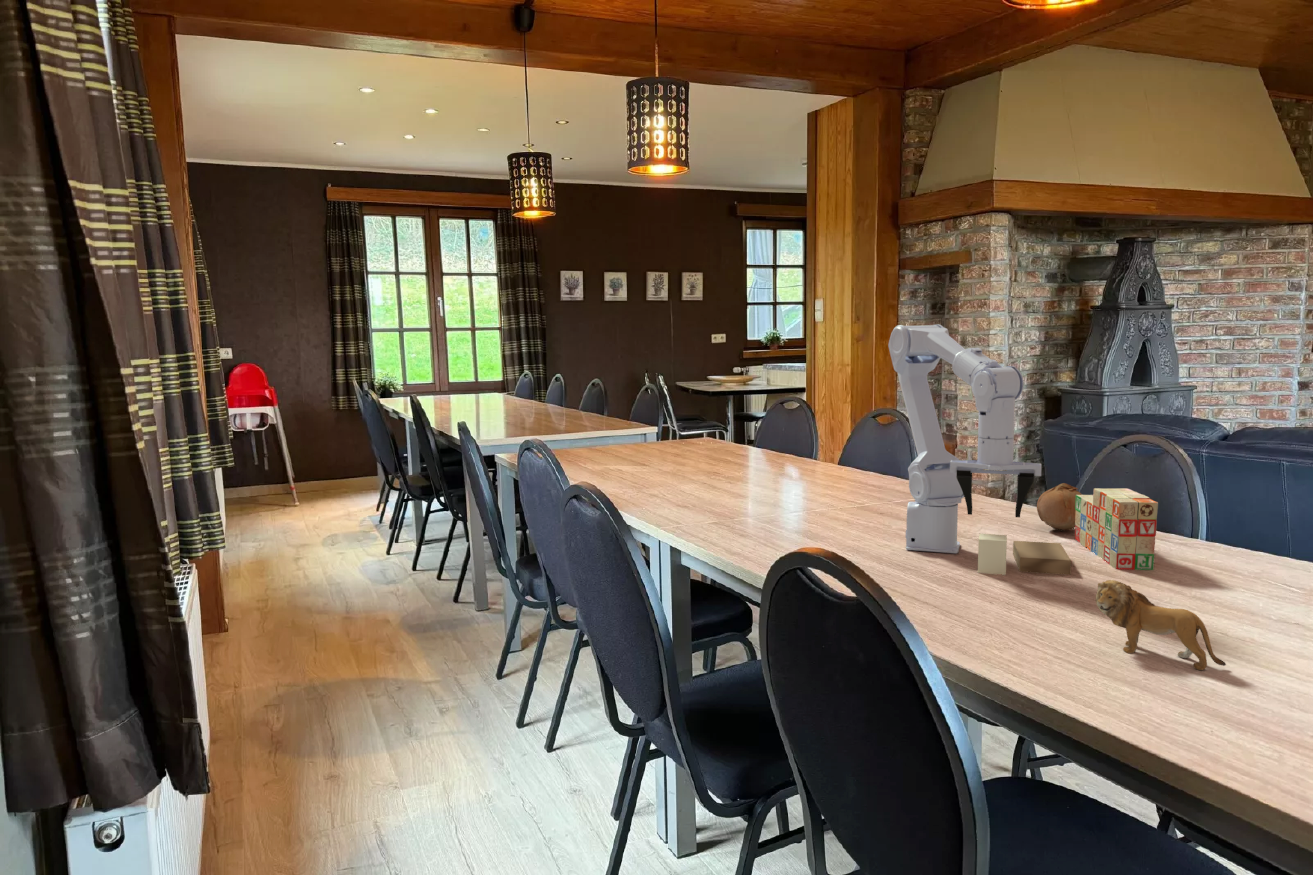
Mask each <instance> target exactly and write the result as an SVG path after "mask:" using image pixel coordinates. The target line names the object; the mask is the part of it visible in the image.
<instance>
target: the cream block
mask: <svg viewBox="0 0 1313 875" xmlns="http://www.w3.org/2000/svg"><path fill="white" fill-rule="evenodd" d="M1007 538H1008V536H1007V535H1006V534H995V533H994V534H991V533H979V534H978V543H977V544H978V545H977V546H978V548H977V549H978V550H977V551H978V552H977V555H978V557H977V573H978V574H985V575H997V574H1002V575H1001V576H1006V575H1007V551H1008V546H1007V545H1008V543H1007V541H1008V540H1007Z"/></svg>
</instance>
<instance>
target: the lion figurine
mask: <svg viewBox="0 0 1313 875" xmlns="http://www.w3.org/2000/svg"><path fill="white" fill-rule="evenodd" d="M1095 597H1096V598H1095V603H1096V607H1097V608H1098V609H1099V611H1100V612H1101V613H1102V614H1103V615H1104V616H1106V617H1108V618H1109V620H1111V622H1112V623H1113V625H1115V626H1116V627H1119V628H1123V629H1125V630H1126V637H1127V640H1126V641H1125V643H1124V644H1125V646H1124V647H1123V648H1122V650H1123V652H1124V653H1126V654H1133V653H1135V652H1136V651H1137V649H1138V642H1139V636H1140V633H1141V631H1144V632H1147V633H1150V634H1154V635H1159V636H1160V635H1161V636H1165V635H1170V634H1174V633H1175V634H1176V636H1177V638H1178V639H1179V640H1180V642H1181V644H1182V645H1183V646H1184V647H1185V648H1186V649H1185V651H1181V650H1180V651H1178V653H1177V657H1180V658H1182V659H1188V658H1190V657H1191V655H1192V654H1194V656H1196V658H1197V659H1198V662H1194V663H1193V664H1192V666H1193V668H1194V669H1195V670H1197V671H1204V670H1206V669H1207V666H1208V662H1207V655H1206V651H1204V649H1203V648H1202V647H1201V646H1200V644H1199V642H1198V639H1197V637H1198V633H1199V631H1200V633H1201V636H1202V639H1203V642H1204V644H1205V648H1206V650H1207V654H1208V655H1209V656H1210V658H1211V659H1212V661H1213V662H1214V663H1215V664H1216V665H1218V666H1223V667H1224V666H1227V664H1226V662H1225V661H1224V660H1222V659H1221V658H1219V657H1217V656H1216V655H1215V653H1214V651H1213V648H1212V644H1211V640H1210V637H1209V633H1208V630H1207V627H1206V625H1205V624H1204V622H1203V620H1202V619H1201V618H1200V617H1199V616H1198V615H1197V614H1195V613H1194V612H1192V611H1190V610H1188V609H1185V608H1168V607H1163V606H1158V605H1155V604H1154V603H1153V602H1152V601H1150V600H1149V599H1148V598H1147V596H1146V595H1144V594H1143V593H1142V592H1138V591H1137V590H1135V589H1132V587H1131V586H1130V585H1127V584H1126V583H1124V582H1121V581H1119V580H1114V579H1107V580H1106V581H1102V582H1098V583H1097V591H1096V596H1095Z"/></svg>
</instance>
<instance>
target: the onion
mask: <svg viewBox="0 0 1313 875" xmlns="http://www.w3.org/2000/svg"><path fill="white" fill-rule="evenodd" d="M1076 495H1083V494H1082V493H1081V492H1080V491H1079V490H1078V487H1076V486H1072V485H1071V484H1068V483H1065V482H1063V483H1060V484H1058V485H1056V486H1054V487H1052V488H1049V489H1047V490H1046V491H1044V492H1043V493H1042V494H1040V496H1039V497H1038V500H1037V502H1036V511H1037V515H1038V517H1039V519H1040V521H1042V522H1044V523H1045V525H1047V526H1048V527H1050V528H1052V529H1053V530H1057V531H1061V530H1062V531H1070V530H1073V529H1074V530H1075V514H1076V510H1075V498H1076ZM1062 531H1061V532H1062Z"/></svg>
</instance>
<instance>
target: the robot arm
mask: <svg viewBox="0 0 1313 875" xmlns="http://www.w3.org/2000/svg"><path fill="white" fill-rule="evenodd" d="M888 350H889V355H890V358H891V363H892V367H893V370H894V371H895V372H896V374H897V378H898V381H899V386H900V389H901V393H902V397H903V401H904V404H905V405H904V406H905V410H906V414H907V417H908V421H909V426H910V430H911V434H912V438H913V440H914V441H913V442H914V447H915V449H916V455H917V456H916V458H915V459H914V460H913V461H912V462H911V463H910V465H909V466H908V468H907V471H908V489H909V492H910V496H912V499H914V501H908V503H907V507H906V529H905V540H906V541H905V543H906V544H905V546H906V547H905V550H908V551H918V552H919V551H920V552H932V553H933V552H934V553H944V554H959V550H960V545H961V543H960V541H958V516H959V514H958V513H959V512H958V510H959V504H962V500H963V499H965V504H966V510H967V515H973V497H972V496H973V495H972V487H973V474H991V475H995V474H996V475H1015V476H1017V482H1016V483H1017V488H1016V490H1017V491H1016V492H1017V493H1016V503H1015V511H1014V512H1015V515H1014V516H1015V518H1021V513H1022V512H1021V511H1022V507H1023V505H1024V502H1025V499H1026V497H1027V494H1028V493H1029V491H1030V488H1031V487H1032V486H1033V484H1034V481H1035V477H1042V463H1039V462H1038V463H1036V462H1024V461H1023V462H1022V461H1014V445H1015V444H1014V442H1015V441H1014V439H1015V438H1014V437H1015V412H1016V408H1015V407H1016V400H1017V399H1018V398H1019V397H1021V395H1022V393H1023V389H1024V378H1023V375H1022V373H1021V371H1020V370H1019V369H1017V366H1015V365H1008V366H1002V365H1001V364H999V363H998V362H999V361H997V360H996V359H991V358H990V357H989V356H987V355H985V354H984V353H983V349H982V348H980V347H969V348H964V347H963V345H961V344H960V343H958V342H957V341H956V340H955V339H954V338H953V337H952V336H950V333H949V329H948V328H946V327H944V326H943V325H941V324H939V323H938V324H932V325H931V324H929V325H928V324H926V325H924V324H923V325H903V324H898V325H896V326H895V327H894V328H893V330H892V331H891V334H890V337H889V340H888ZM941 359H942V360H944V361H945V362H947V363H948V364H950V365H952V368H951V369H952V372H953V373H954V375H955V376H956V377H958V378H959V379H960V380H962V381H963V382H965V383H966V384H967V385H968V386H970V387H971V391H972V395H973V397H974V399H975V400H974V402H975V408H976V411H977V412H978V425H977V426H978V427H977V432H978V433H977V436H978V437H977V457H976V458H977V459H972V460H962V459H961V460H960V459H959V458H958V457H957V456H955V455H954V454H952V453H950V452H949V451H947V449H946V447H945V442H944V439H943V434H942V431H941V427H940V422H939V419H938V415H937V412H936V409H935V403H934V400H933V396H932V392H931V388H930V384H929V381H928V378H927V376H928V375H929V373H930V372H931V371H934V370H935V369H936V367H937V365H938V364H939V362H940V360H941Z"/></svg>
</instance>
